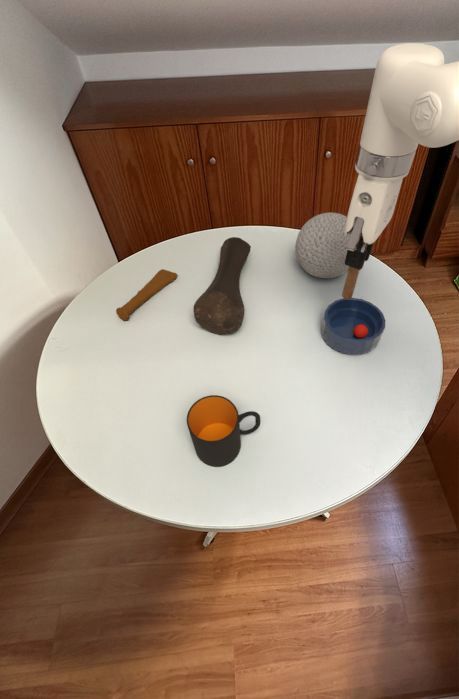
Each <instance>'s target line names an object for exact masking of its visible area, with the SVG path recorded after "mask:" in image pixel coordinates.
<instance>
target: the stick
mask: <svg viewBox="0 0 459 699" xmlns="http://www.w3.org/2000/svg"><path fill="white" fill-rule="evenodd" d="M363 241H364V240H361V239H359V242H362V243H363ZM360 271H361V270H359V269H356V268H353V267H350V266H349V268H348V271H347V272H346V277H345V281H344V283H343V284H344V286H343V289H342V292H341V298H342V299H343V298H344V299H351V298H353V296H354V295H353V294H354V292H355V288H356V284H357V280H358V277H359V274H360Z"/></svg>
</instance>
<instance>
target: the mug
mask: <svg viewBox="0 0 459 699" xmlns="http://www.w3.org/2000/svg"><path fill="white" fill-rule="evenodd" d="M247 417H254V420H255V424H254V425H253V427H251V428H249V429H245V430H243V429H241V426H240V425H241V424H240V423H241V422H242V421H244V419H245V418H247ZM186 426H187V429H188V432H189V436H190V439H191V442H192V444H193V448H194V451H195V454H196V456H197V458H198V459H199V460H200V461H201V463H203V464H205V465H207V466H209V467H213V468H220V467H225V466H227V465H229V464H231V463H233V462H235V460H236V458H238V456H239V454H240V451H241V448H242V438H241V436H245V435H249V434H252V433H254V432H256V431H257V430H258V429H259V428H260V426H261V415H260V413H258V412H257V411H253V410H250V411H249V410H248V411H246V412H243V413H240V414H239V411H238V408H237V406H236V405H235V404H234V402H233V401H232V400H230V399H229V398H227V397H225V396H222V395H216V394H212V395H206V396H203V397H201V398H199V399H198V400H196V401H195V402H193V404H192V405H191V406H190V408H189V409H188V411H187V415H186Z"/></svg>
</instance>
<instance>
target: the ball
mask: <svg viewBox="0 0 459 699" xmlns="http://www.w3.org/2000/svg"><path fill="white" fill-rule="evenodd" d="M353 334H354V336H355V337H357V338H360V339H361V338H365V337H366V336H367V334H368V328H367V327H366V326H365V325H363V324H359V325H357V326H355V328H354V330H353Z"/></svg>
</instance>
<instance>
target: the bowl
mask: <svg viewBox="0 0 459 699" xmlns="http://www.w3.org/2000/svg"><path fill="white" fill-rule="evenodd" d="M359 324H363V325H365V326H366V327H367V328H368V334H367V336H366V337H365V338H361V339H360V338H357V337H355V336H354V334H353V330H354V328H355V326H357V325H359ZM320 329H321V330H320V331H321V336H322V338H323V339H324V341H325V343H326V344H327V346H330V348H331V349H333V350H335V351H337V352H339V353H342V354H345V355H346V354H347V355H351V356H356V355H364V354H367V353H369V352H371V351H373V350H374V349H376V347H377V346H378V344H379V343H380V341H381V338H382V336H383V333H384V331H385V329H386V318H385V315H384V313H383V312H382V310H381V309H380V308H379V307H378V306H376V305H375V304H373V303H372V302H370V301H368V300H365V299H362V298H358V297H352V298H351V299H344V298H343V297H342V298H339V299H337V300H334V301H333V302H331V303H329V305H328V306H327V307H326V309H325V310H324V315H323V319H322V324H321V328H320Z"/></svg>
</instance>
